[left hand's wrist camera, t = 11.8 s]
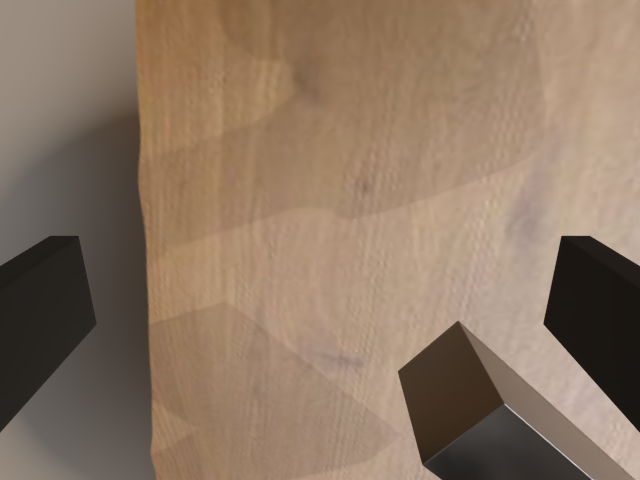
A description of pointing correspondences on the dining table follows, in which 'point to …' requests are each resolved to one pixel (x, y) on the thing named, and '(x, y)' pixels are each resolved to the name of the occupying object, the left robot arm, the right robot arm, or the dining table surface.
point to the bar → (491, 419)
